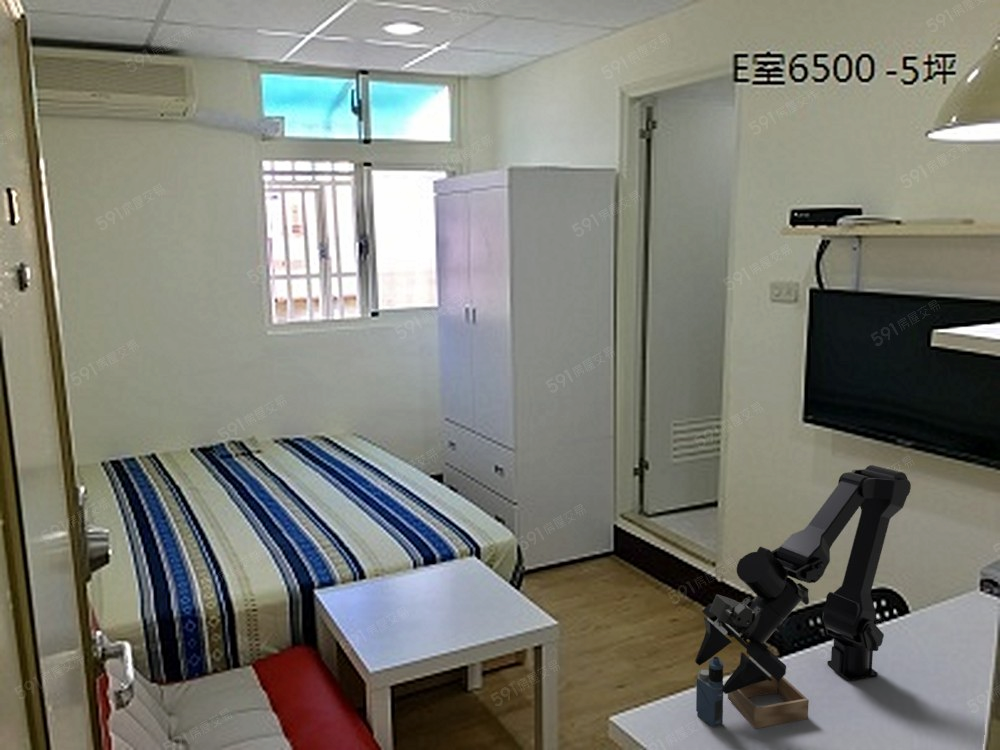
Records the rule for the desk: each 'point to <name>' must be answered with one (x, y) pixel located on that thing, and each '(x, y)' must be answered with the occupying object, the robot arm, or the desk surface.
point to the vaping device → (710, 693)
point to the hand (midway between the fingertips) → (709, 677)
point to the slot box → (771, 713)
